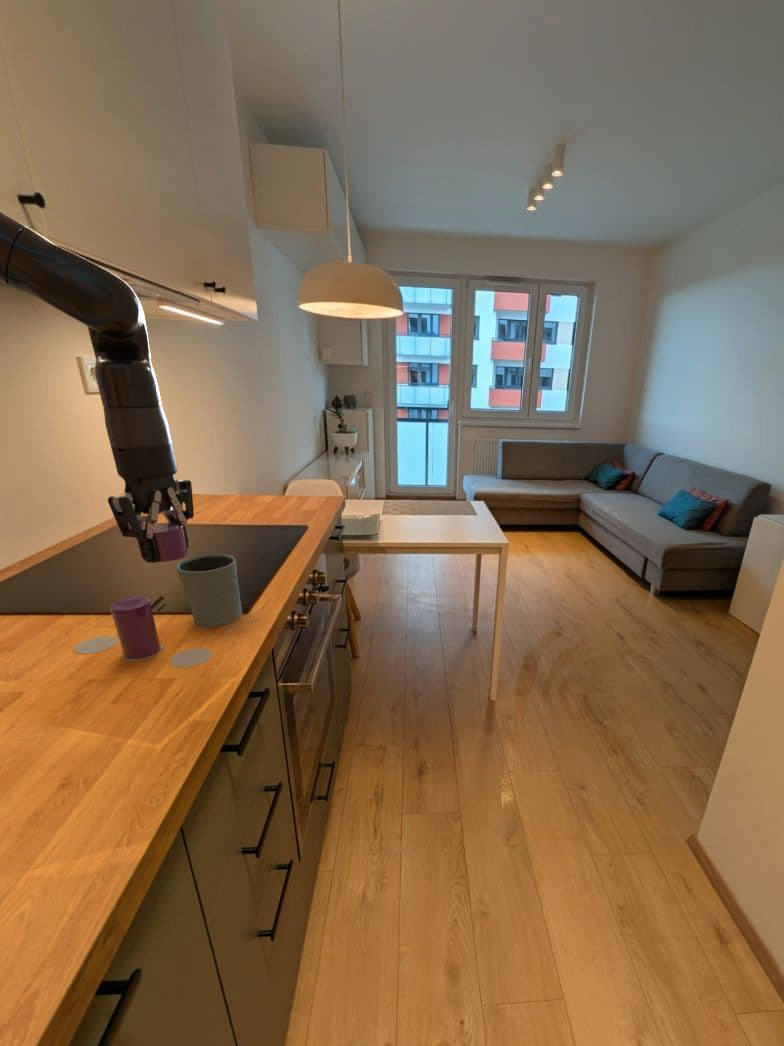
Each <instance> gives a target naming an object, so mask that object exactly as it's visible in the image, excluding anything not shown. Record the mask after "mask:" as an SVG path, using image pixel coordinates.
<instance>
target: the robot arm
mask: <svg viewBox="0 0 784 1046" xmlns="http://www.w3.org/2000/svg"><path fill="white" fill-rule="evenodd" d="M0 283H1V284H4V285H5V286H7V287H10V288H12V289H14V290H16V291H17V292H20V293H23V294H24V295H28V296H30V297H33V298H35V299H39V300H41V301H42V302H44V303H46V304H47V305H49V306H51V307H53V308H55V309H56V310H58V311H59V312H62V313H63V314H65V315H67V316H69V317H71V318H72V319H74V320H76V321H78V322H80V323H81V324H83V325H85V326H86V328H87V330H88V335H89V338H90V342H91V346H92V350H93V353H94V357H95V363H94V372H95V373H94V374H95V380H96V381H95V382H96V386H97V388H98V392H99V397H100V400H101V405H102V408H103V414H104V424H105V430H106V433H107V437H108V441H109V444H110V449H111V452H112V457H113V460H114V465H115V468H116V469H115V470H116V472H117V475H118V476H119V477H120V478H122V480H123V481H124V492H123V493H121V494H120V495H117V496H112V495H111V496H109V497H108V498H107V503H108V505H109V508H110V509H111V512H112V516H113V517H114V519H115V522H116V524H117V526H118V529H119V531H120V534H121V536H123V537H125V538H133V539H134V538H135V539H136V540H137V545H138V548H139V551H140V556H141V558H142V560H144V561H145V562H146V563H152V564H156V563H159V562H158V561H160V556H159V552H158V547H157V543H156V539H155V538H153V535H154V525H155V524H157V523H158V521H159V515H160V514H161V515H163V516H164V518H165V520H166V521H167V523H178V524H181V525H182V527H183V532H184V537H185V541H186V546H187V549H188V548H189V537H188V532H187V527H186V525H187V524H188V521H189V520H190V519H193V518H194V517H195V513H194V512H195V511H194V498H193V485H192V481H191V480H188V479H176V478H175V476H174V475H176V473H177V472H178V465H177V461H176V456H175V452H174V446H173V441H172V437H171V431H170V427H169V422H168V420H167V417H166V414H165V411H164V408H163V403H162V399H161V395H160V394H161V393H160V389H159V385H158V379H157V377H156V373H155V369H154V367H153V364H152V359H151V350H150V343H149V337H148V330H147V324H146V318H145V313H144V309H143V305H142V303H141V301H140V299H139V297H138V296H137V294H136V292H135V291H134V289H133V288H132V287H131V286H130V285H129V284H128V283H127V281H125V280H123V279H122V278H121V277H119V276H118V275H116V274H114V273H112V272H111V271H109V270H108V269H106V268H103V267H102V266H100V265H99V264H96V263H95V262H92V261H90V260H89V259H86V258H84V257H82V256H80V255H78V254H77V253H74V252H72V251H70V250H68V249H66V248H63V247H61V246H60V245H57V244H55V243H53V242H51V241H50V240H49V239H47V238H46V237H44V236H43V235H41V234H40V233H38V232H37V231H35V230H33V229H31V228H30V227H28V226H27V225H26V224H23V223H21V222H19V221H18V220H16V219H14V218H12V217H10V216H9V215H7V214H5V213H4V212H2V211H0ZM183 504H184V505H185V507H184V506H183ZM184 508H185V510H184ZM142 514H143V515H142ZM143 527H145V530H142V528H143Z"/></svg>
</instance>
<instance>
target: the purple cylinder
mask: <svg viewBox="0 0 784 1046" xmlns="http://www.w3.org/2000/svg"><path fill="white" fill-rule="evenodd" d="M109 605H110V606H109V610H110V613H111V616H112V619H113V623H114V627H115V630H116V633H118V634H121V635H135V634H140V633H143V632H146V631H148V630H150V629H152V628H153V627H154V626H155V625H156V620H155V617H154V613H153V610H152V606H151V602H150V599H149V598H148V597H146V596H130V597H125V598H121V599H119V600H116V601H114V602H112V603H111V604H109ZM118 634H117V635H118Z"/></svg>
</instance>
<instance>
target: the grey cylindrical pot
mask: <svg viewBox="0 0 784 1046" xmlns="http://www.w3.org/2000/svg"><path fill="white" fill-rule="evenodd" d="M176 571H177V574H178V577H179V580H180V581H181V584H182V587H183V590H184V592H185V596H186V599H187V602H188V604H189V607H190V608H191V610H190V612H191V615H192V618H193V620H194V623H195V624H196V625H197V626H200V627H205V628H215V627H222V626H226V625H230V624H232V623H234V622H236V621H238V620H239V619H241V618H242V616H243V611H242V610H243V609H242V601H241V593H240V586H239V581H238V569H237V561H236V557H234V556H233V555H230V554H224V553H213V554H204V555H203V554H202V555H198V556H193V557H189V558H187V559H185V560H182V561H181V562H179V563H178V564H177V566H176Z"/></svg>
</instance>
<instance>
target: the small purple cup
mask: <svg viewBox="0 0 784 1046" xmlns="http://www.w3.org/2000/svg"><path fill="white" fill-rule="evenodd" d="M116 633H117V632H116ZM117 637H118V640H119V644H120V648H121V651H122V652H123V654H124V657H126V658H128V659H140V658H145V657H149V656H151V655H153V654H155V653H157V652H158V651H159V650H160V649H161V645H160V643H161V642H160V637H159V633H158V629H157V626H156V624H155V626H154V627H153V628H152V629H150V630H148V631H146V632H143V633H140V634H135V635H121V634H118V633H117Z"/></svg>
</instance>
